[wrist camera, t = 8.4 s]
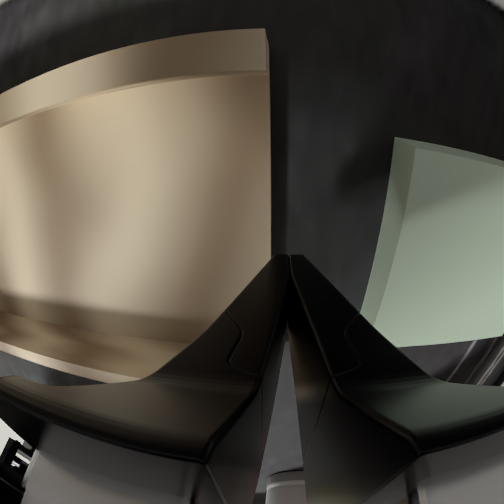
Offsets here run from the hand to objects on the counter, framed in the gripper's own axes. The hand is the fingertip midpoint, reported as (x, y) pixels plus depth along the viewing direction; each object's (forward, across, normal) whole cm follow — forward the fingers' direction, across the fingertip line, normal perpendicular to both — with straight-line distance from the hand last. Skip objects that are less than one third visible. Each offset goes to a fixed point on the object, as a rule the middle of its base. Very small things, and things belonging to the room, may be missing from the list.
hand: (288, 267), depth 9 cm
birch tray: (+2, +10, 0) cm, 10 cm away
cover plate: (+3, -8, 0) cm, 8 cm away
